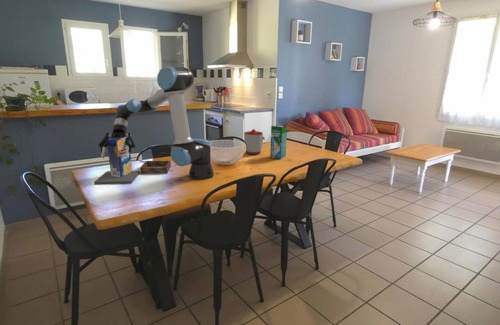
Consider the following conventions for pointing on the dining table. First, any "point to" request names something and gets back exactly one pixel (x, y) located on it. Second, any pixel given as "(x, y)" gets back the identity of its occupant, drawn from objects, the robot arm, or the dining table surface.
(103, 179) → the charcoal mat
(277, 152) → the milk carton
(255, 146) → the citrus juicer
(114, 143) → the beverage box
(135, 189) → the dining table surface
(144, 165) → the walnut holder
